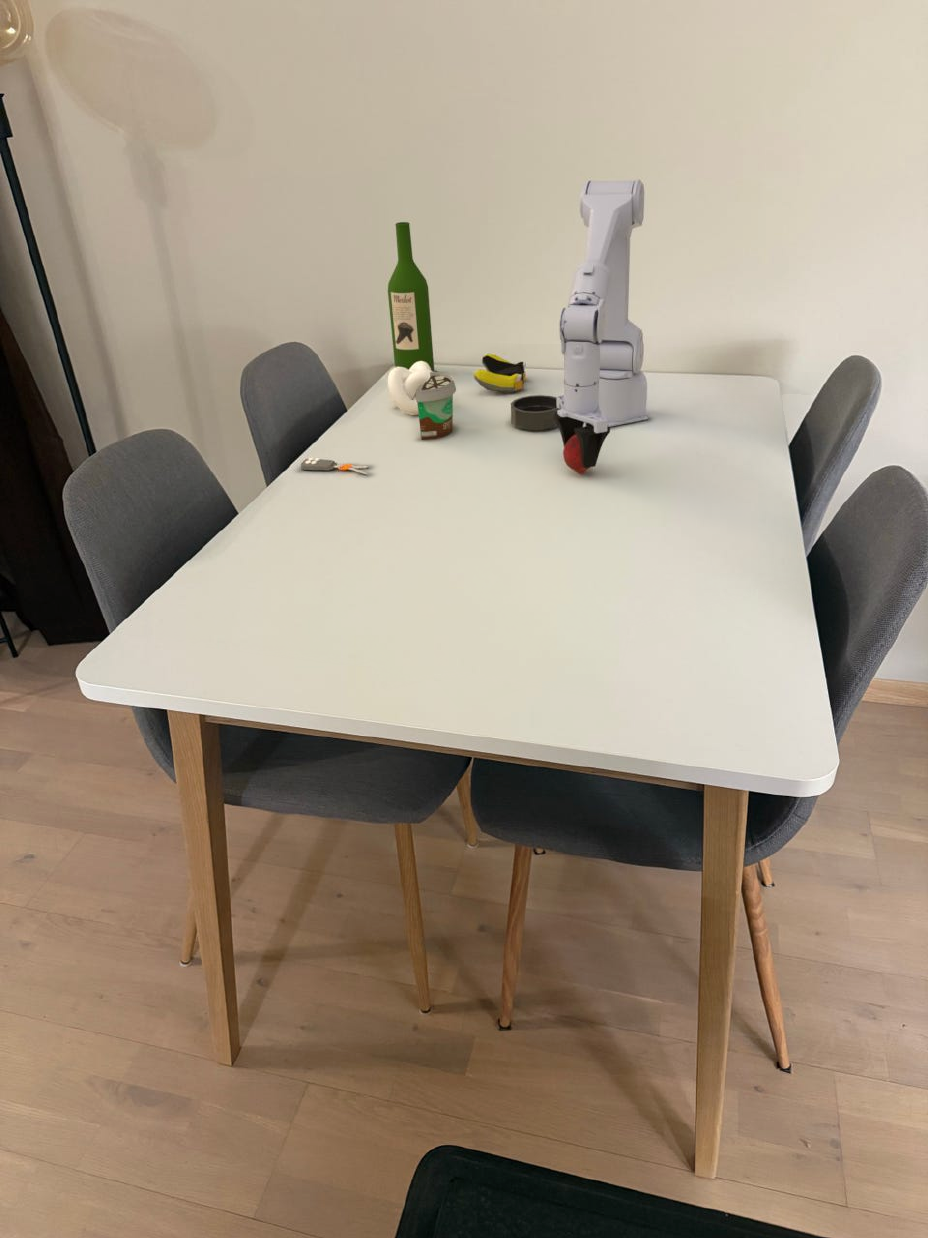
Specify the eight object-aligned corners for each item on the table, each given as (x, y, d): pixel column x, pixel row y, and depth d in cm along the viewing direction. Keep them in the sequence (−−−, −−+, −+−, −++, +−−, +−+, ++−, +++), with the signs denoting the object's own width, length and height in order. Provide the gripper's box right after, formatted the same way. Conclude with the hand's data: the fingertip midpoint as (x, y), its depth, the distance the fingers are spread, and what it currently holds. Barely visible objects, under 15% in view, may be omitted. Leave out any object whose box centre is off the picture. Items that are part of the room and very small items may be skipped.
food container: (451, 443, 170) (447, 391, 165) (419, 442, 171) (415, 391, 166) (464, 420, 180) (461, 371, 175) (434, 420, 181) (430, 370, 176)
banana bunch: (473, 397, 192) (520, 397, 190) (472, 371, 189) (519, 371, 187) (484, 376, 205) (528, 375, 203) (483, 351, 202) (527, 351, 200)
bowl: (549, 411, 182) (549, 392, 180) (572, 426, 174) (572, 406, 172) (503, 420, 179) (502, 400, 177) (524, 436, 171) (523, 415, 169)
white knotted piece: (383, 403, 192) (378, 361, 187) (437, 395, 194) (434, 354, 190) (394, 420, 182) (390, 376, 178) (451, 411, 185) (448, 368, 180)
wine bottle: (392, 381, 205) (376, 227, 188) (400, 369, 212) (386, 220, 195) (430, 381, 204) (418, 225, 186) (437, 369, 211) (427, 218, 194)
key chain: (299, 471, 162) (298, 463, 161) (307, 463, 165) (306, 455, 164) (366, 475, 159) (366, 467, 158) (374, 467, 162) (373, 459, 161)
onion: (575, 482, 151) (575, 437, 147) (556, 471, 156) (556, 427, 151) (604, 475, 153) (605, 430, 149) (585, 464, 158) (585, 420, 154)
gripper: (540, 373, 151) (540, 450, 158) (580, 397, 139) (578, 479, 146) (577, 366, 153) (577, 443, 160) (620, 390, 141) (617, 471, 148)
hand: (580, 460), depth 153 cm, fingers closed on onion, 6 cm apart
